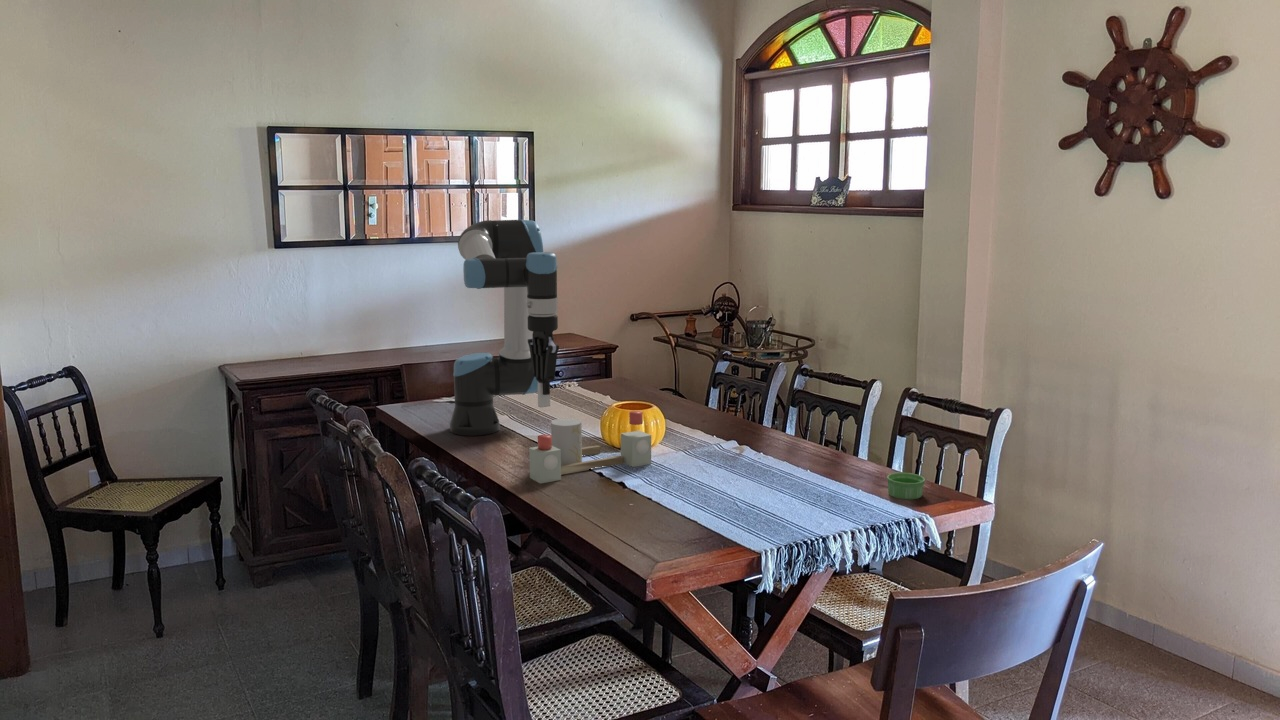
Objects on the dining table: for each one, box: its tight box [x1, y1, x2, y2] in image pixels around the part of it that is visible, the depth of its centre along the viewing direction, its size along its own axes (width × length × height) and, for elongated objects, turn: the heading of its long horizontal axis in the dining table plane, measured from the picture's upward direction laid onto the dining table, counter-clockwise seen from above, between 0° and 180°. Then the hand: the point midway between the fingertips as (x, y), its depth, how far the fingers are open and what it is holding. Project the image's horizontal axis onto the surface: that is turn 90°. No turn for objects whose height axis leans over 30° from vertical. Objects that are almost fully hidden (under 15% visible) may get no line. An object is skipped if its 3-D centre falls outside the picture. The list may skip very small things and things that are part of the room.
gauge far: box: [628, 410, 644, 426], centre depth 271 cm, size 4×4×3 cm
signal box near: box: [528, 445, 562, 484], centre depth 258 cm, size 6×6×8 cm
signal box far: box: [620, 430, 652, 468], centre depth 272 cm, size 6×6×8 cm
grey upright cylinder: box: [550, 417, 583, 465], centre depth 270 cm, size 8×8×12 cm
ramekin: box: [886, 472, 926, 500], centre depth 245 cm, size 9×9×4 cm
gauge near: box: [537, 434, 552, 450], centre depth 257 cm, size 4×4×3 cm
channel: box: [561, 445, 624, 476], centre depth 273 cm, size 14×19×2 cm
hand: (544, 406), depth 255 cm, fingers closed
